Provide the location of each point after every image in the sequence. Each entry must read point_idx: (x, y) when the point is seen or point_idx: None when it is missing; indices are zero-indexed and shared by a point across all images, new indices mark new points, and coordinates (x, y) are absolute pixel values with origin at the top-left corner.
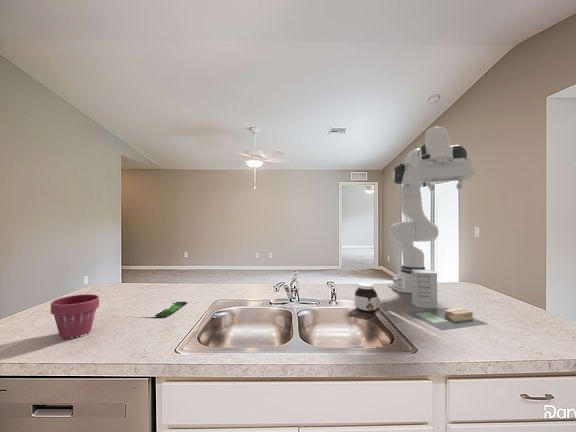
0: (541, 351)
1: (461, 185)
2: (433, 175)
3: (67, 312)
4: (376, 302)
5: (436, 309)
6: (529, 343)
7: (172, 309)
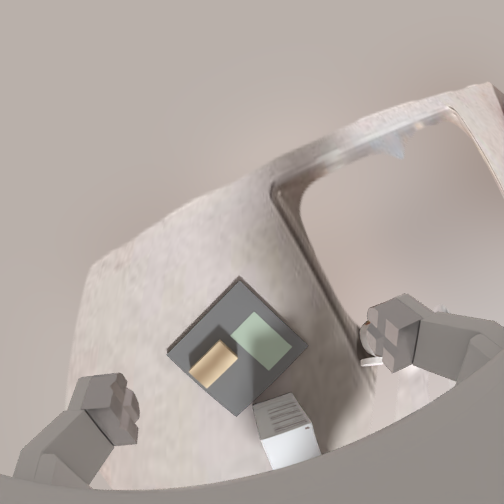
0: (114, 274)
1: (82, 384)
2: (496, 381)
3: None
4: (364, 330)
5: (253, 397)
6: (121, 299)
7: None
